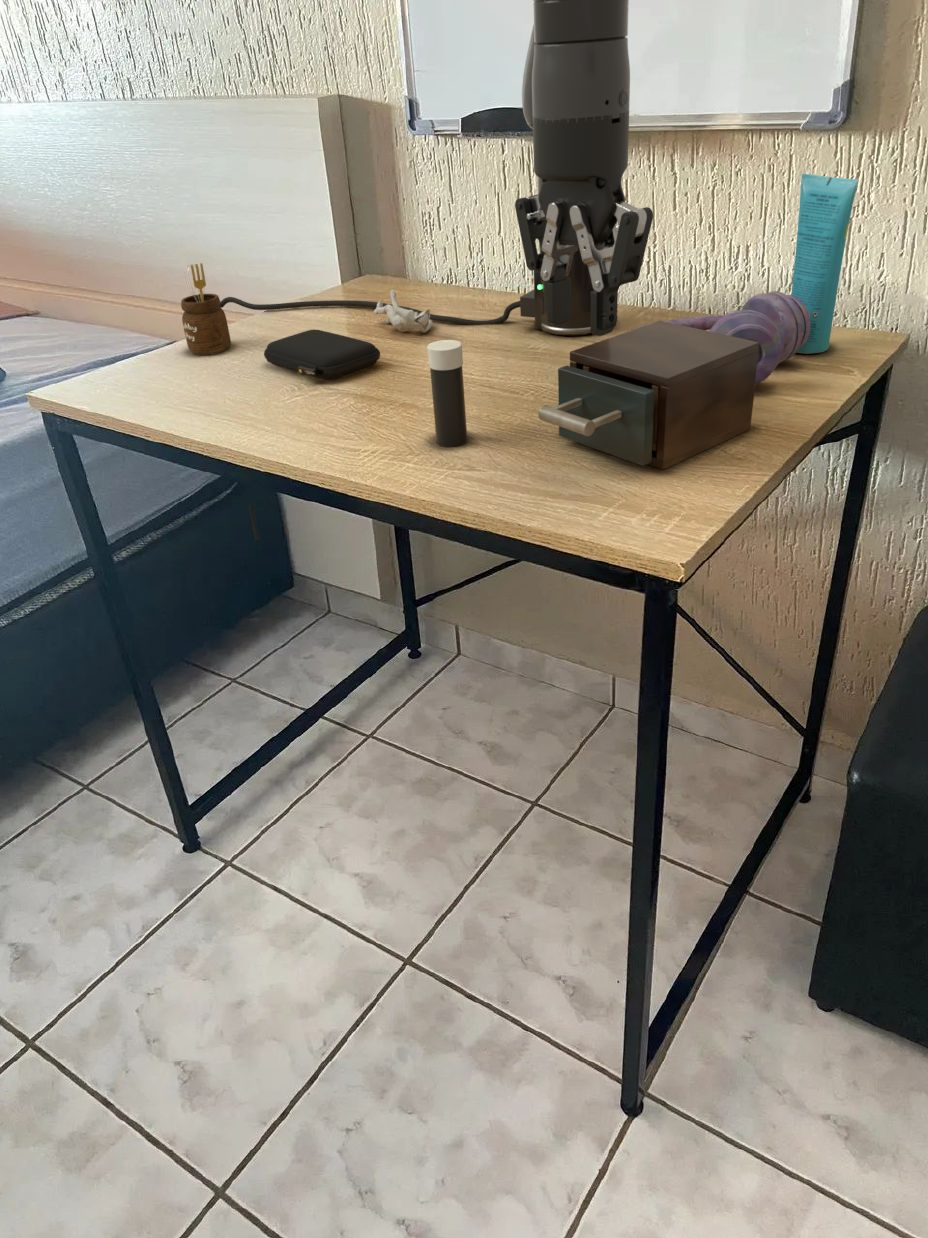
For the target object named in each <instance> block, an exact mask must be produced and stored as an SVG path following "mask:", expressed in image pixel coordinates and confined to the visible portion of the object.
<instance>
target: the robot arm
mask: <svg viewBox="0 0 928 1238" xmlns="http://www.w3.org/2000/svg"><path fill="white" fill-rule="evenodd" d="M532 1H533V6H532V7H533V26H532V30H531V34H530V39H529V44H528V47H527V52H526V57H525V62H524V68H523V76H522V83H521V84H522V86H521V105H522V106H521V107H522V111H523V112H522V113H523V117H524V119H525V122H526V124H527V126H528V127H529V128H530V129H531V130H532V144H533V172H534V174H535V176H536V177H537V194H533V195H528V196H524V197H520V198H519V197H518V198H517V199H516V200H515V203H514V210H515V214H516V218H517V223H518V228H519V234H520V239H521V245H522V249H523V253H524V259H525V263H526V267H527V269H528V270H529V271H531V272H532V271H533V289H532V290H530V291H528V292H526V293H525V294H523V295H521V296H520V297H519V301H514V302H512V303H510V304H508V306H506V307H505V309H504V312H503V314H502V315H501V316H499V317H497V318H493V319H489V320H476V319H467V318H461V317H455V316H447V315H439V314H433V313H430V318H429V320H431V321H435V322H440V323H441V322H442V323H450V324H457V325H464V326H484V325H485V326H486V325H487V326H488V325H499V324H503V323H504V322H506V321H507V320H508V319H509V317H510V314H511V312H512V311H513V310H516V309H520V317H524V318H525V317H526V318H534V330H541V331H543V332H545V333H547V334H551V335H552V334H553V335H557V336H558V335H560V336H581V335H583V336H584V335H590V334H591V335H594V336H597V337H601V336H605V335H608V334H610V333H612V332H613V331H614V329H615V327H616V325H617V322H618V305H619V304H618V301H619V297H618V296H619V295H618V294H619V289H620V287H622V286H623V285H626V284H630V283H634V282H636V281H638V280H639V278H640V274H641V269H642V265H643V262H644V257H645V253H646V249H647V245H648V240H649V236H650V232H651V228H652V224H653V220H654V212H653V210H652V208H651V207H649V206H645V207H642V208H641V207H640V208H639V207H636V206H634V205H632V204H630V203H628V202H626V196H625V193H624V190H623V186H622V179H623V176H624V173H625V172H626V170H627V169H628V167H629V166H628V165H629V139H630V138H629V137H630V135H629V134H630V101H631V100H630V95H631V94H630V93H631V65H630V64H631V63H630V55H629V54H630V53H629V37H627V36H628V35H629V0H532ZM536 241H538V247H539V253H538V249H537V243H536ZM220 302H221V305H220V308H222V309H223V308H224V307H225V306H226V305H227V304H229V303H233V304H236V305H239V306H241V307H243V308H246V309H249V310H254V311H272V310H273V311H274V310H285V309H297V308H307V307H308V308H313V307H314V308H315V307H362V308H363V307H364V308H375V309H376V308H377V303H378V302H379V301H370V300H345V299H343V300H342V299H341V300H339V299H338V300H334V299H333V300H307V301H294V302H283V303H268V304H267V303H265V304H264V303H263V304H257V303H256V304H255V303H250V302H246V301H244V300H242V299H239V298H237V297H233V296H227V297H224V298H223V299H222V300H220ZM382 303H383V305H382V307H384V306H386V305H388V304H389V305H392V303H386V302H382ZM392 306H393V305H392ZM399 307H400V308H403V309H407V310H413V311H414V312H417V313H418V314H420V313H422V312H423V311H422V310H419V309H416V308H412V307H407V306H402V305H399ZM248 510H249V514H250V519H251V523H252V524H251V525H252V529H253V534H254V539H255V541H260V539H261V538H260V532H259V527H258V523H257V517H256V513H255V507H254V506H252V505H248Z"/></svg>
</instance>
